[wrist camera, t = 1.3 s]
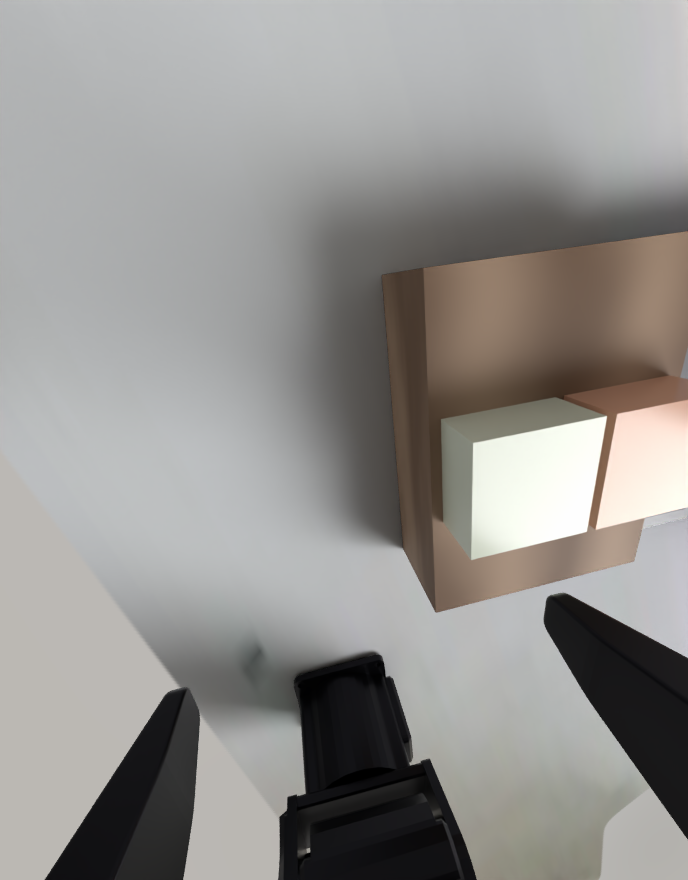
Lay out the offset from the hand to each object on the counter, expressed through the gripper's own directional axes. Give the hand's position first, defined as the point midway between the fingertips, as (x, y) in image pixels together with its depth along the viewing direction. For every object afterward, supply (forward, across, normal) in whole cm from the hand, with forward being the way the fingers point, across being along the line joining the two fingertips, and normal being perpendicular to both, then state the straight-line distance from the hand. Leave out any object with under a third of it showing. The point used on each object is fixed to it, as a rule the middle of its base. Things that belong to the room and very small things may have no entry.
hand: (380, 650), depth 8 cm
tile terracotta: (+7, -13, 0) cm, 14 cm away
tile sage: (+7, -7, 0) cm, 10 cm away
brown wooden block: (+12, -10, 0) cm, 15 cm away
